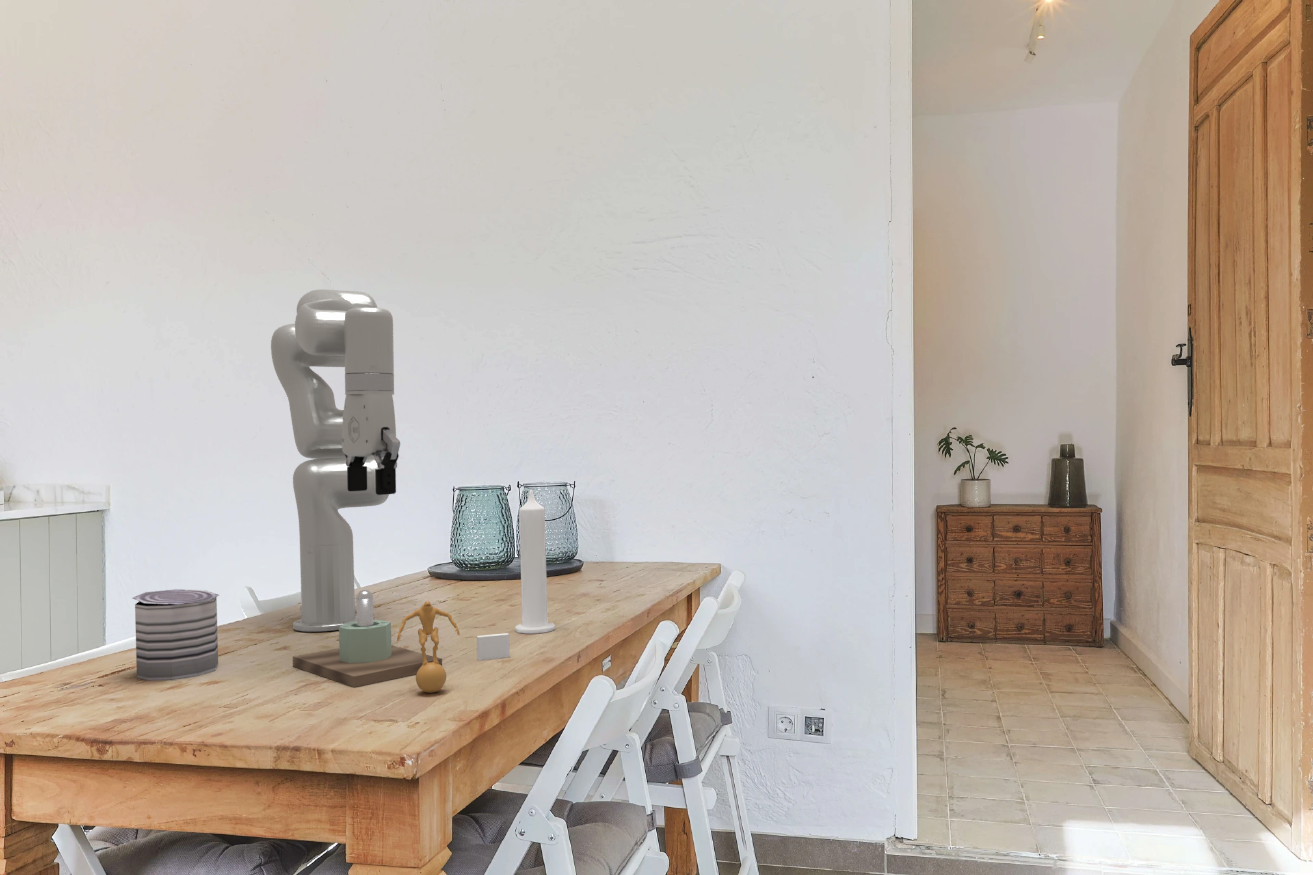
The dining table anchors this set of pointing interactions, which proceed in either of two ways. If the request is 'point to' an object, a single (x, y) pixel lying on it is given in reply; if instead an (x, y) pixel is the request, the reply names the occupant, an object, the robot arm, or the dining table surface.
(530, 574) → the candle
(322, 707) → the dining table surface
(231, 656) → the dining table surface
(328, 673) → the stand board
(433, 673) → the figurine
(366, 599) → the post
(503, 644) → the eraser
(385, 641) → the bead
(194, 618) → the can
